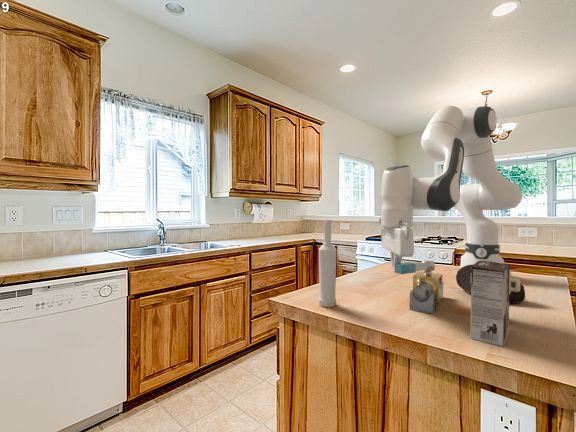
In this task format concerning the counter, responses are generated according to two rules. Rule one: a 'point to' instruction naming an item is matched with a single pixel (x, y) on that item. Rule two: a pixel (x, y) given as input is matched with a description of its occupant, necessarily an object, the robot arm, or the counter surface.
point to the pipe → (465, 283)
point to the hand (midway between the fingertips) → (396, 267)
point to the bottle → (327, 269)
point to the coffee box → (490, 302)
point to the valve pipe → (426, 291)
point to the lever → (414, 267)
